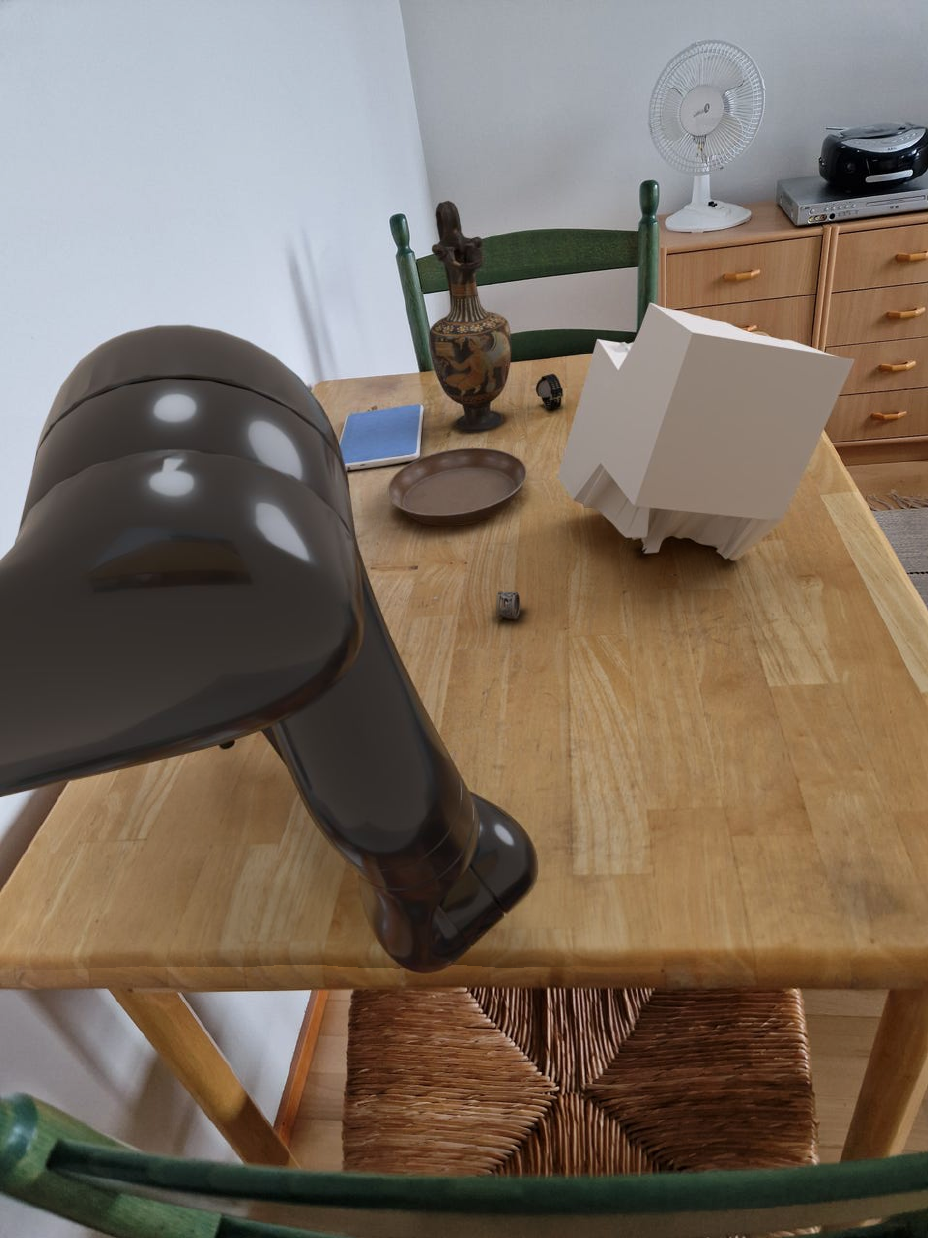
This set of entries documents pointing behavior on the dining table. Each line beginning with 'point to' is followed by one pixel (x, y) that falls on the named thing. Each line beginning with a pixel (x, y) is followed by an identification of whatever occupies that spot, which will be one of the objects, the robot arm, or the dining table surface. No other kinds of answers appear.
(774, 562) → the dining table surface
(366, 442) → the tablet
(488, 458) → the plant saucer
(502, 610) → the decorative ring
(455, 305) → the vase
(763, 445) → the notched white block
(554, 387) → the smartwatch
